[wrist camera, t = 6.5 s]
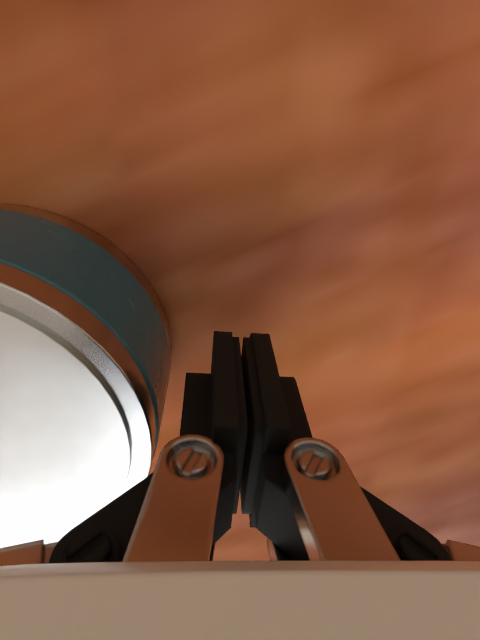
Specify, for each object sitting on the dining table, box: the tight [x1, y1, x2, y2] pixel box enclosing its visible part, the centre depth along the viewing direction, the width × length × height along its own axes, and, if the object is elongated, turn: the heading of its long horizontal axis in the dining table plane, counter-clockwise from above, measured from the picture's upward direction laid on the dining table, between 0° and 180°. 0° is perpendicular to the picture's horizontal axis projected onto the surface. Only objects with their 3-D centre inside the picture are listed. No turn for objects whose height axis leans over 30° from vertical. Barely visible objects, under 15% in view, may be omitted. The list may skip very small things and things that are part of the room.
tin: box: [0, 204, 171, 548], centre depth 11 cm, size 9×9×5 cm
